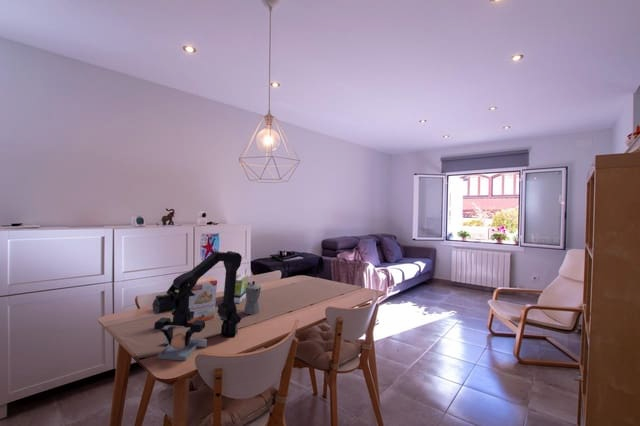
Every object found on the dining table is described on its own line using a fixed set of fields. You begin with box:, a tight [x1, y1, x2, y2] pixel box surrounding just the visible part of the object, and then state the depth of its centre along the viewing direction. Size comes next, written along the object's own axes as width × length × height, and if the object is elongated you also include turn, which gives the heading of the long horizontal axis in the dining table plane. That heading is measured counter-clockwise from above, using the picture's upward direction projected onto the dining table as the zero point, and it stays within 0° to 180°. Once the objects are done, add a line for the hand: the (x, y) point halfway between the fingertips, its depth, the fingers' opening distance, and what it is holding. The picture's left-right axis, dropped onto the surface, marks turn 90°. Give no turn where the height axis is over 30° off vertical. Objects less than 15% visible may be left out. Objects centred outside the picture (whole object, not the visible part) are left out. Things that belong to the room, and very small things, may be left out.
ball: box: [171, 332, 186, 349], centre depth 122 cm, size 6×6×6 cm
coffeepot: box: [243, 281, 262, 315], centre depth 172 cm, size 15×9×18 cm, turn 33°
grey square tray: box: [157, 343, 198, 361], centre depth 122 cm, size 11×11×2 cm
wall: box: [164, 335, 208, 348], centre depth 128 cm, size 18×1×3 cm, turn 90°
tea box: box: [234, 273, 249, 304], centre depth 191 cm, size 15×10×15 cm
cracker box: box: [188, 277, 218, 323], centre depth 155 cm, size 14×6×21 cm, turn 138°
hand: (178, 345), depth 122 cm, fingers closed on ball, 6 cm apart
